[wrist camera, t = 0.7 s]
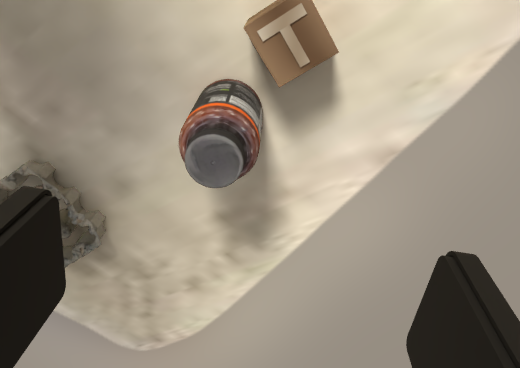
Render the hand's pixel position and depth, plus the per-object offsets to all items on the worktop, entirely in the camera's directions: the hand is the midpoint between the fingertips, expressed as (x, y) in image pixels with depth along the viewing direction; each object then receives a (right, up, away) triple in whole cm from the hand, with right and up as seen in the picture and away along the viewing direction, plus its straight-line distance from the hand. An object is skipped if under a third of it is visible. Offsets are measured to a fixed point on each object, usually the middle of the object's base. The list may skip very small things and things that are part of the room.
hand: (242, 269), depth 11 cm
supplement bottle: (-2, +9, +28) cm, 30 cm away
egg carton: (-20, 0, +34) cm, 40 cm away
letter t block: (+3, +15, +25) cm, 29 cm away
